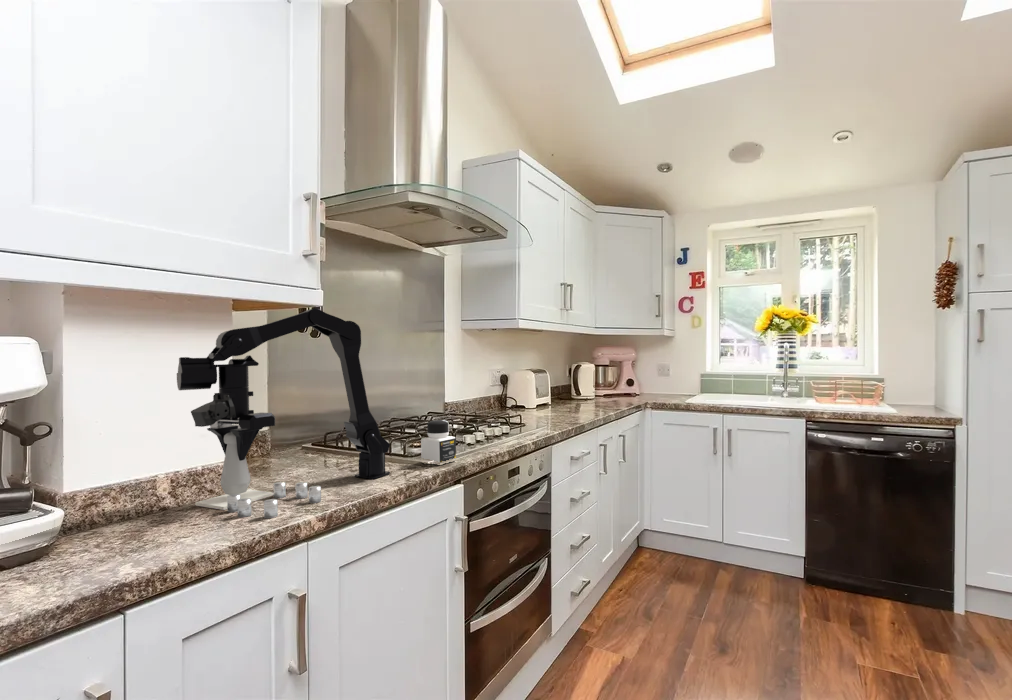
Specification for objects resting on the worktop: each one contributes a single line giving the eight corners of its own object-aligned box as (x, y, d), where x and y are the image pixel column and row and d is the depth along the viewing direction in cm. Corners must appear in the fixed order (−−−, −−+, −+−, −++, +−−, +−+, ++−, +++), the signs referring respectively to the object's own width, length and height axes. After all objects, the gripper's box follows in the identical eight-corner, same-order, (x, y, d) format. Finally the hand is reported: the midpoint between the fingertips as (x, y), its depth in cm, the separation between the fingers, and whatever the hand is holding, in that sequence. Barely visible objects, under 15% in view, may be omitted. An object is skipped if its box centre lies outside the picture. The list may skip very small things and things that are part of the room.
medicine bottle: (440, 466, 142) (439, 422, 142) (420, 463, 146) (420, 421, 146) (456, 461, 148) (455, 419, 148) (437, 459, 152) (436, 418, 152)
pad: (246, 491, 118) (246, 488, 118) (273, 495, 115) (273, 492, 115) (195, 505, 108) (195, 502, 108) (223, 509, 104) (223, 506, 104)
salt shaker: (230, 497, 107) (228, 434, 107) (215, 494, 110) (213, 433, 110) (256, 490, 112) (255, 430, 112) (241, 487, 115) (240, 429, 115)
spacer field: (285, 493, 116) (285, 479, 116) (328, 498, 110) (328, 484, 110) (217, 513, 101) (217, 498, 101) (263, 521, 96) (263, 505, 96)
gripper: (169, 390, 108) (170, 464, 108) (228, 390, 100) (230, 470, 100) (219, 386, 118) (220, 454, 118) (276, 386, 110) (277, 459, 110)
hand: (235, 459), depth 111 cm, fingers closed on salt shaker, 4 cm apart
